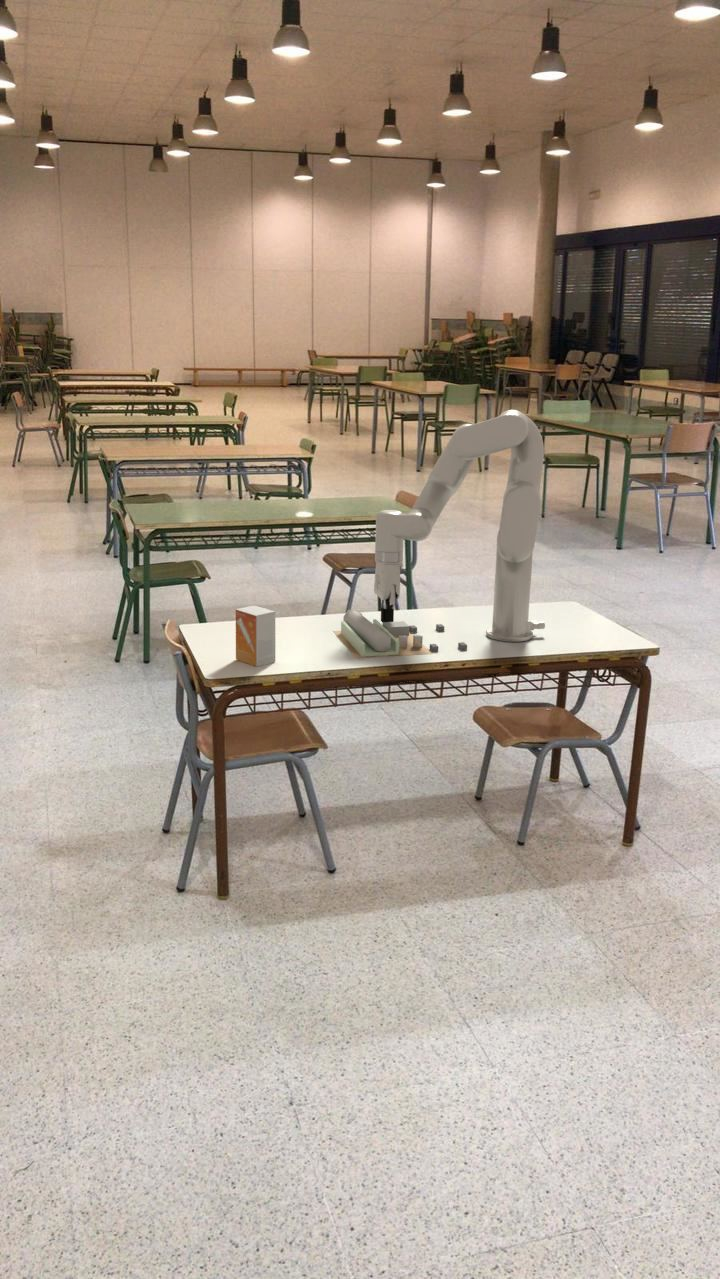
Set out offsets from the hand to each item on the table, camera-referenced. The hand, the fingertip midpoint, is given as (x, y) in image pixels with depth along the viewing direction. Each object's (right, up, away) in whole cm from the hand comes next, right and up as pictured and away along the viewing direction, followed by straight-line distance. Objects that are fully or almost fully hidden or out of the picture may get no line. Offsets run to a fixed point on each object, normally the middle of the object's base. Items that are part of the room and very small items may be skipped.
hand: (387, 621), depth 298 cm
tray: (-5, -6, -17) cm, 19 cm away
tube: (-5, -5, -18) cm, 19 cm away
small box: (-33, -10, -30) cm, 46 cm away
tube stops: (+13, -6, -13) cm, 19 cm away
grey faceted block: (+2, -3, -8) cm, 9 cm away
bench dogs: (+5, -7, -20) cm, 22 cm away
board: (-2, -7, -16) cm, 17 cm away
